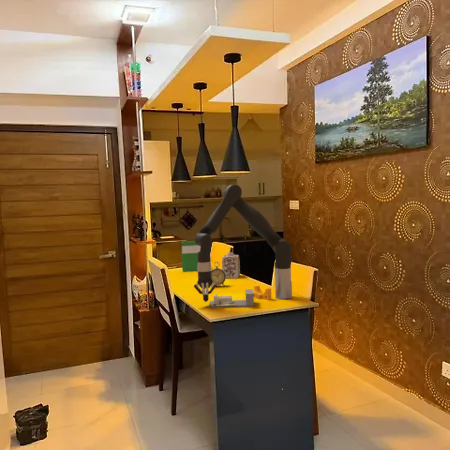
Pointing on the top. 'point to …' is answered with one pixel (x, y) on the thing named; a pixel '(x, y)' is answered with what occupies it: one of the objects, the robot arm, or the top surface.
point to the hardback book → (189, 256)
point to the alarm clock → (218, 276)
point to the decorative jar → (231, 265)
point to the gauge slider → (222, 299)
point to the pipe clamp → (259, 295)
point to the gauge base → (237, 301)
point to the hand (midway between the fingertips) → (205, 301)
